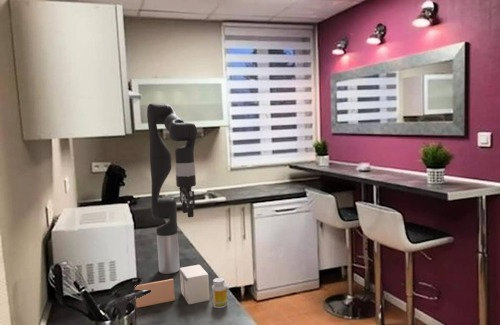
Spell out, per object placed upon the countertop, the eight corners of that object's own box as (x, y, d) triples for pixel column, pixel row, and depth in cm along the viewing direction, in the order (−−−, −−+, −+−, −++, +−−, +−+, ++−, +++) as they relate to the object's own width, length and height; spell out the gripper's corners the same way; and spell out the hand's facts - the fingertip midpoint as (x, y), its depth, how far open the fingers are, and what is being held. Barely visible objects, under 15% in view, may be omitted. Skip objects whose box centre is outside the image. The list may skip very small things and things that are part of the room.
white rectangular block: (180, 292, 166) (178, 268, 165) (200, 288, 170) (199, 264, 168) (187, 304, 155) (186, 278, 154) (209, 300, 158) (208, 274, 157)
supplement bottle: (209, 305, 154) (208, 280, 153) (220, 300, 157) (218, 275, 156) (219, 310, 150) (218, 283, 149) (230, 304, 154) (229, 279, 153)
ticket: (136, 306, 155) (134, 285, 154) (174, 299, 160) (173, 278, 159) (136, 307, 154) (135, 286, 153) (174, 300, 159) (173, 279, 158)
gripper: (172, 173, 171) (174, 212, 172) (180, 177, 157) (182, 219, 159) (190, 171, 173) (192, 210, 175) (199, 175, 160) (202, 217, 162)
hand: (188, 214), depth 167 cm, fingers open, 8 cm apart
